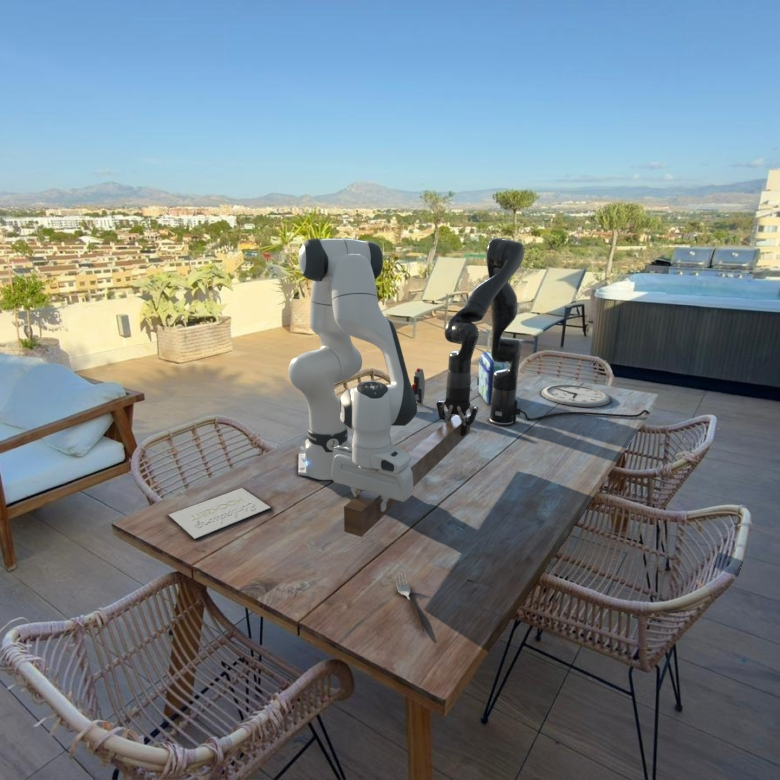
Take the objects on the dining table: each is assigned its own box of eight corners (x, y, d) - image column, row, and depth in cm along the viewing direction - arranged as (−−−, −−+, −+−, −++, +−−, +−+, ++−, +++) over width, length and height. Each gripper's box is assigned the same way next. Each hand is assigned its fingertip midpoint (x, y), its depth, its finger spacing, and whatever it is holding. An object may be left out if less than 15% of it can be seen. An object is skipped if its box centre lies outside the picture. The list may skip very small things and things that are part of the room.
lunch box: (475, 390, 246) (478, 346, 240) (498, 390, 246) (501, 347, 240) (484, 408, 221) (487, 360, 215) (509, 409, 221) (513, 360, 215)
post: (457, 430, 179) (458, 412, 177) (470, 432, 177) (471, 414, 175) (344, 531, 118) (343, 506, 116) (361, 537, 116) (361, 511, 114)
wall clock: (623, 402, 226) (556, 403, 224) (623, 406, 227) (556, 407, 224) (592, 383, 255) (532, 383, 252) (591, 386, 255) (532, 386, 253)
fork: (417, 635, 98) (417, 626, 97) (393, 581, 112) (394, 573, 112) (430, 632, 98) (430, 623, 98) (405, 579, 113) (405, 571, 112)
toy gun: (399, 376, 211) (420, 366, 222) (400, 413, 216) (420, 401, 228) (404, 377, 209) (424, 367, 220) (404, 414, 215) (424, 403, 226)
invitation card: (241, 487, 151) (270, 507, 140) (241, 488, 151) (270, 508, 141) (168, 514, 136) (194, 538, 126) (168, 515, 136) (194, 539, 126)
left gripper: (325, 448, 121) (326, 501, 125) (404, 468, 112) (402, 524, 116) (340, 438, 126) (340, 490, 130) (417, 457, 117) (415, 511, 121)
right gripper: (432, 383, 165) (430, 433, 170) (476, 390, 159) (472, 442, 164) (442, 377, 172) (439, 426, 177) (483, 384, 165) (480, 434, 170)
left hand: (370, 506), depth 123 cm, fingers closed on post, 4 cm apart
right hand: (455, 433), depth 170 cm, fingers closed on post, 4 cm apart
